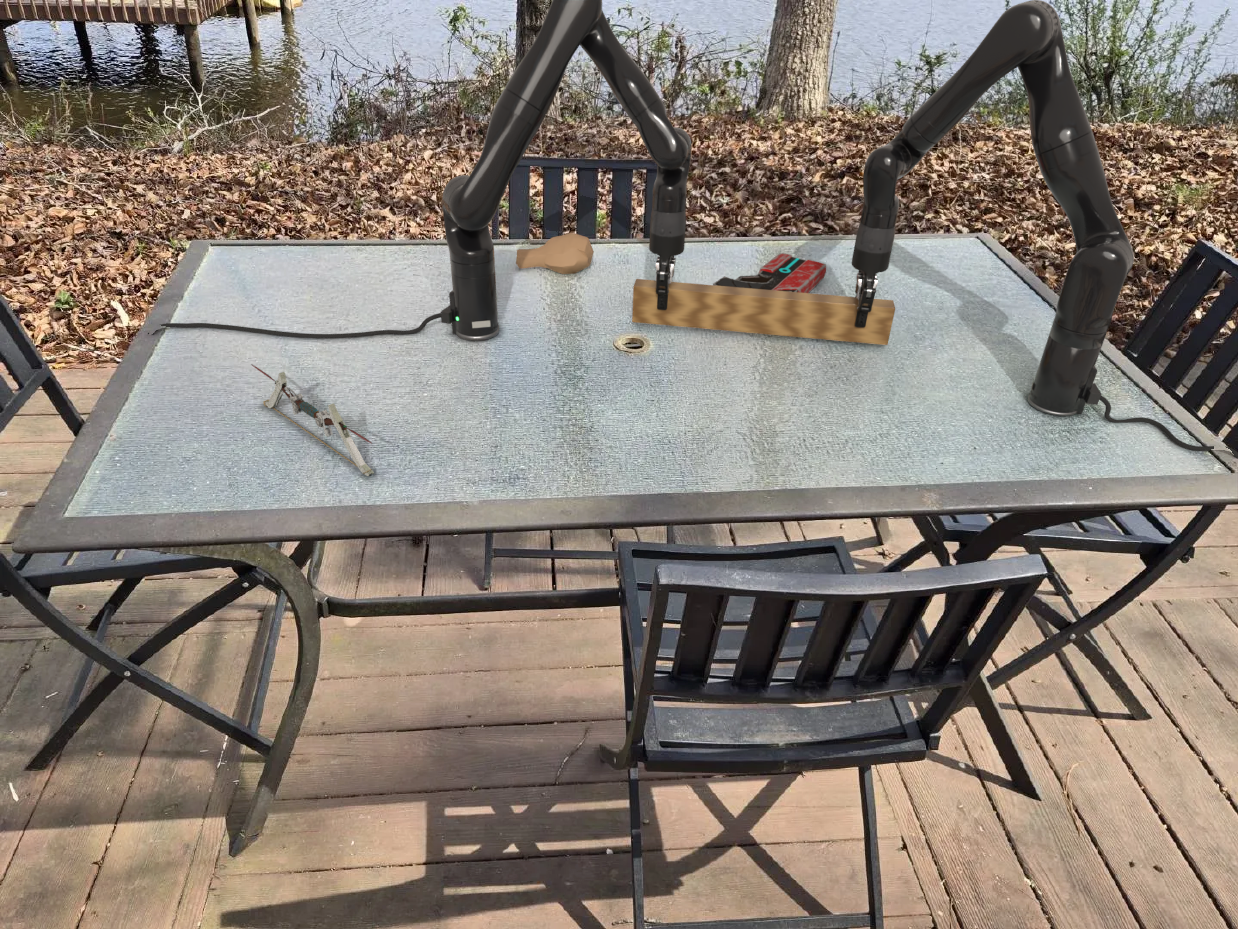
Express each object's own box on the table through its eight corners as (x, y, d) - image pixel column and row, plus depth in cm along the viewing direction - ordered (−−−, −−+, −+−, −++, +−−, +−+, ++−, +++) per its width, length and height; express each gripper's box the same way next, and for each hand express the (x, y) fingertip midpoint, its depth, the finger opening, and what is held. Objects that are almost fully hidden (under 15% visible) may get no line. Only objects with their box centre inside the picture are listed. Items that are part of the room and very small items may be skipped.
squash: (595, 277, 221) (590, 246, 215) (517, 285, 222) (510, 253, 216) (596, 255, 229) (591, 224, 223) (520, 262, 230) (514, 231, 224)
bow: (384, 479, 145) (376, 427, 139) (374, 483, 144) (366, 432, 138) (264, 397, 166) (253, 350, 161) (255, 401, 165) (244, 353, 160)
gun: (708, 284, 207) (784, 305, 199) (760, 245, 229) (831, 262, 221) (706, 302, 209) (781, 323, 201) (758, 261, 231) (828, 278, 223)
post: (632, 322, 195) (633, 285, 191) (634, 314, 199) (636, 278, 194) (887, 345, 189) (895, 308, 184) (885, 336, 193) (893, 300, 188)
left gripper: (682, 241, 179) (676, 319, 188) (688, 219, 190) (683, 293, 200) (645, 238, 179) (642, 316, 189) (654, 217, 191) (650, 291, 201)
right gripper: (895, 258, 174) (879, 337, 183) (888, 235, 185) (874, 310, 195) (857, 255, 175) (843, 334, 184) (852, 232, 186) (839, 307, 196)
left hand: (663, 304), depth 194 cm, fingers closed on post, 4 cm apart
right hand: (859, 321), depth 189 cm, fingers closed on post, 4 cm apart
